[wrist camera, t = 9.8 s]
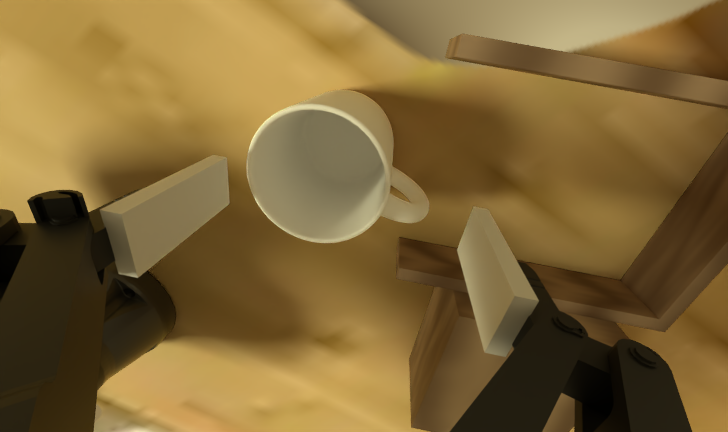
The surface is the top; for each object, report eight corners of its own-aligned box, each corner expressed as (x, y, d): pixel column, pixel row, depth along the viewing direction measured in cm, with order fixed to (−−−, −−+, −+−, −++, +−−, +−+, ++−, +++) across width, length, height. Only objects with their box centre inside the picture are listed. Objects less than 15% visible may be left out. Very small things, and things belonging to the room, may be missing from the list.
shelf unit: (370, 350, 38) (363, 417, 31) (449, 39, 22) (473, 28, 15) (552, 388, 37) (588, 464, 30) (772, 97, 21) (959, 115, 14)
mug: (450, 145, 25) (478, 193, 16) (397, 218, 29) (395, 290, 20) (324, 67, 23) (277, 69, 14) (285, 155, 27) (227, 202, 18)
